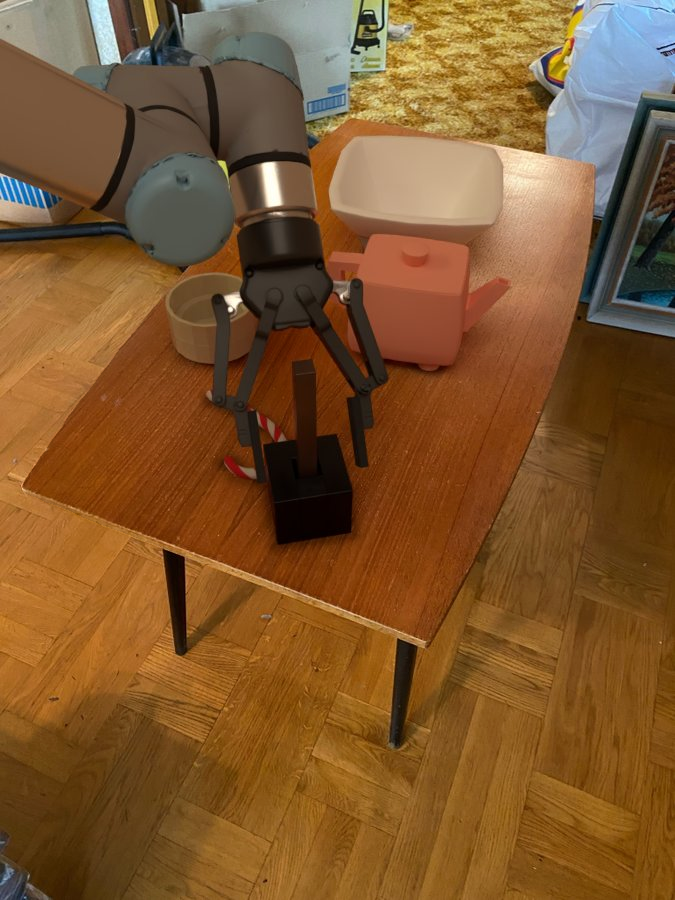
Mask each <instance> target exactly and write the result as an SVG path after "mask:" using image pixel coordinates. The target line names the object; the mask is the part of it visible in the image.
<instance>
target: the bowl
mask: <svg viewBox="0 0 675 900" xmlns="http://www.w3.org/2000/svg"><path fill="white" fill-rule="evenodd" d="M328 196H329V198H328V199H329V204H330V210H331V212H333V214H334V215H335V216H337V217H338V218H339V219H340V220H341V221H342V222H343V223H344V224H345V225H346V226H347V227H348V228H349V229H350V230H351V231H352V232H353V233H354V234H356V235H357V236H358V238H359V241H360V245H361V246H362V249H363V250H364V252H365V249H366V246H367V244H368V241H369V239H370V237H371V236H372V235H373V234H389V235H400V236H409V237H418V238H425V239H432V240H439V241H445V242H451V243H456V244H461V245H465V246H466V245H467V244H468V243H469V242H471V241H473V240H474V239H476V238H477V237H478V236H480V235H482V234H483V233H485V232H486V231H488V230H489V229H490V228H492V227H494V226H495V224H496V222H497V219H498V218H499V216H500V214H501V212H502V210H503V208H504V163H503V161H502V159H501V158H500V155H499V154H498V152H497V149H495V148H494V147H490V146H485V145H481V144H476V143H470V142H466V141H458V140H450V139H443V138H436V137H429V136H428V137H426V136H408V135H387V134H386V135H384V134H383V135H356V136H354V137H353V138H352V139H351V140H350V141H349V142H348V143H347V144H346V145H345V146H344V147H343V148H342V150H341V151H340V154H339V156H338V159H337V163H336V165H335V167H334V171H333V175H332V177H331V181H330V184H329V187H328Z"/></svg>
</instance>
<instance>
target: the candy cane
mask: <svg viewBox="0 0 675 900" xmlns="http://www.w3.org/2000/svg"><path fill="white" fill-rule="evenodd" d="M212 390H213V389H208V390H207V391H206V393H205V398H206V399H207V400H209V401H210V402H212ZM247 408H248V411H253V410H255V409H254V408H252V407H250V406H248V405H247ZM256 412H257V419H258V426H259V427H260V428H261V429H262V430H264V432H266V433H267V434H268V435H270V437H271V438H272V439H273V440H274V442H281V441H287V438H286V436H285V435H284V433H283V431H282V430H281V429H280V428H279V427H278V426H277V425H276V423H274V422H273V421H272V420H271V419H270V418H268V417H267V416H265V415H263V414H262V413H261V412H259V411H257V410H256ZM223 463H224V466H225V468H227V470H228V471H229V472H230V473H231V474H232V475H234V476H236V477H239V478H240V479H241V478H242V479H245V480H246V479H247V480H257V477H256V470H255V467H245V466H241V465H240V464H239V463H237V462H236V460H235V459H234V457H233V456H231V455H227V456H225V457H224V459H223ZM264 467H265V464H264ZM265 474H266V471H265Z"/></svg>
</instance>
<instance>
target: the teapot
mask: <svg viewBox="0 0 675 900" xmlns="http://www.w3.org/2000/svg"><path fill="white" fill-rule="evenodd" d="M470 256H471V255H470V247H469V246H467V245H466V244H465V245H461V244H456V243H451V242H445V241H439V240H432V239H425V238H418V237H409V236H400V235H389V234H373V235H372V236H371V237H370V239H369V241H368V244H367V246H366V249H365V251H364V252H363V253H358V252H345V251H334V250H333V251H332V253H331V255H330V257H329V259H328V266H327V272H328V274H329V276H330V277H331V278H332V280H333V281H346V272H350V273H355V274H356V277H355V278H359V279H360V280H362V282H363V305H364V308H365V310H366V313H367V316H368V319H369V322H370V325H371V328H372V331H373V333H374V336H375V339H376V342H377V345H378V348H379V351H380V354H381V356H382V359H383V361H384V360H385V359H386V360H391V361H397V362H404V363H411V364H412V363H413V364H417V365H418V367H419V368H420V369H421V370H423V371H426V372H428V371H429V372H432V371H436V370H438V369H439V368H440V366H452V365H453V364H454V362H455V360H456V358H457V356H458V353H459V351H460V346H461V343H462V338H463V335H464V333H467V332H469V330H470V329H471V328H472V327H473V326H474V325H475V324H476V323H477V322H478V321H479V320H480V319H481V318H482V317H483V316H484V315H485V314H486V313H487V312H488V311H489V310H490V309H491V308H492V307H493V306H494V305H495V304H496V303H498V301H499V300H500V299H501V298H502V297H503V296H504V295H505V294H506V293H507V292H509V290H510V289H511V283H512V280H511V279H508V278H505V277H503V276H498V275H496V276H495V278H493V279H491V280H490V281H487V283H485V284H483V285H481V286H480V287H478V288H477V289H475V290H473V291H472V292H469V291H470V290H469V289H470V274H471V273H470V270H471V267H470V266H471V265H470V264H471V260H470V259H471V258H470ZM328 301H331V302H332V303H335V304H336V305H338V306H340V307H341V308H343V309H345V310H346V305H342V304H341V303H340V302H339V300H338V297H337V295H336V294H334V293H331V295H330V297H329V299H328ZM347 343H348V346H349V349H350V350H351V351H353V352H356V353H358V354H361V352H360V349H359V346H358V344H357V341H356V338H355V335H354V332H353V329H352V326H351V324H350V321H349V318H348V317H347Z"/></svg>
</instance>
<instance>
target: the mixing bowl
mask: <svg viewBox="0 0 675 900" xmlns="http://www.w3.org/2000/svg"><path fill="white" fill-rule="evenodd" d="M242 282H243V278H242V277H240V276H237V275H233V274H231V273H226V272H216V271H215V272H201V273H199V274H195V275H190V276H188V277H186V278H184V279H182V280H180V281H178V282H177V283H176V284H174V286H172V287H171V288H170V289H169V291H168V292H167V295H166V296H165V301H164V302H165V310H166V316H167V321H168V325H169V331H170V336H171V339H172V344H173V346H174V348H175V350H176V351H177V353H178V354H180V355H181V356H182V357H184V358H185V359H186V360H190V361H192V362H196V363H199V364H208V365H214V358H215V343H216V327H217V322H216V318H215V315H214V312H213V308H212V303H211V298H212V296H213V295H215V294H221V295H226V294H230V293H234V292H238V291H240V287H241V285H242ZM258 324H259V320H258V319H257V318H256V317H255V316H254V315H253V314H252V313H251V312H250V311H249V310H248V309H247V307H246V306H245V305H244V304H243V303H242V304H240V305H238V307H237V314H236V316H235V317H234V318H232V319H230V343H229V358H228V363H229V362H232V361H234V360H237V359H240V358H241V357H243V356H245V355H246V354H249V352H250V349H251V346H252V343H253V340H254V336H255V333H256V330H257V327H258Z"/></svg>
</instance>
